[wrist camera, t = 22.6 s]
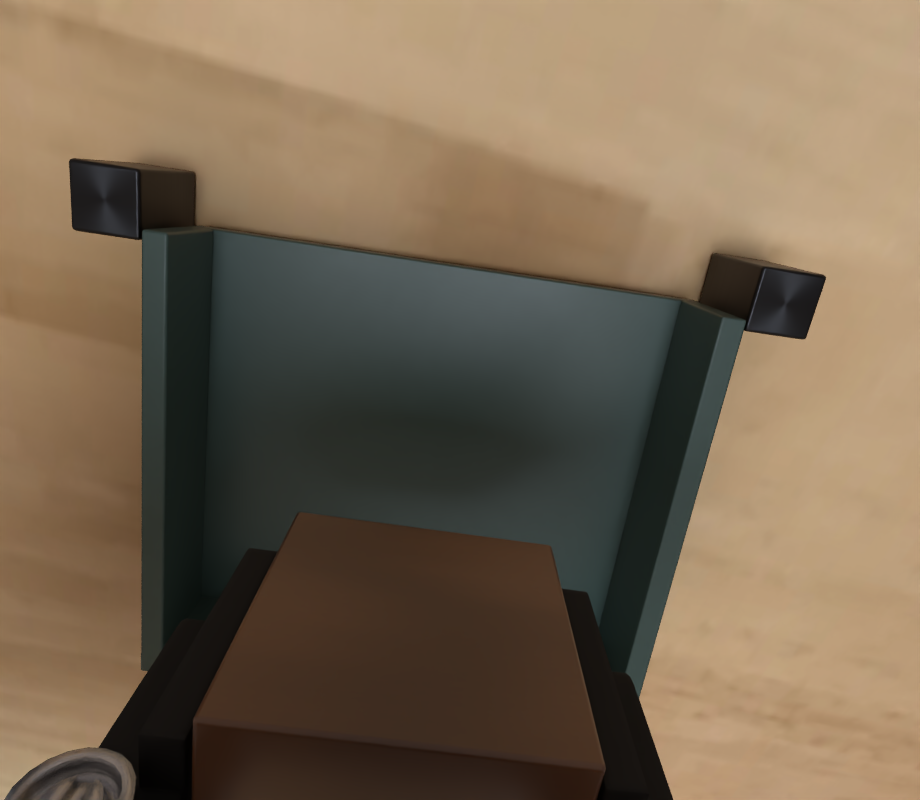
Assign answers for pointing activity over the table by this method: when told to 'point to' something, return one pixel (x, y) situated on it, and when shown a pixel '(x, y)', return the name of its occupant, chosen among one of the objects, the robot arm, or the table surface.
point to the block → (400, 674)
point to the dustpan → (417, 416)
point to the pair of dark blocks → (172, 205)
